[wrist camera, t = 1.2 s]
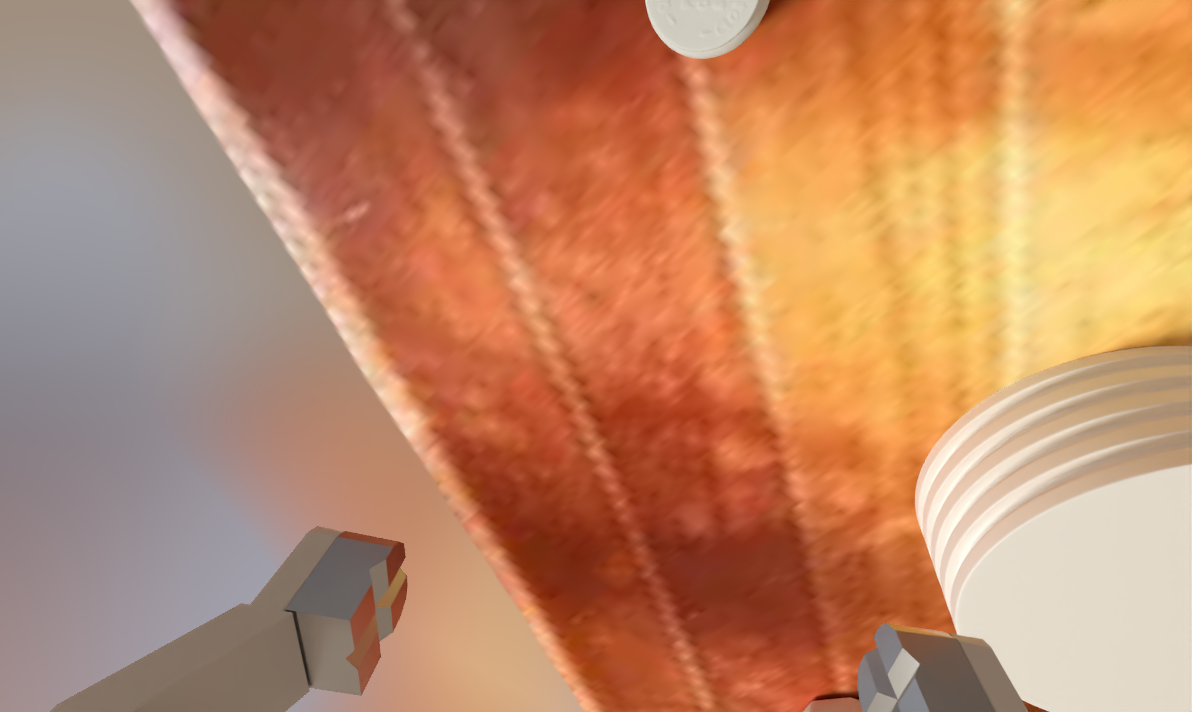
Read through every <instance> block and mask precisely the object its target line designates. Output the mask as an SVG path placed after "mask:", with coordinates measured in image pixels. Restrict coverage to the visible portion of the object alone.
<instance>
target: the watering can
mask: <svg viewBox="0 0 1192 712" xmlns="http://www.w3.org/2000/svg"><path fill="white" fill-rule="evenodd" d="M803 712H863V710H862V707H861V703H860V700H857V699H854V698H851V697H848V698H837V699H826V700H817V701H812V702H811V703H810V704H809V705H808V706H807V707H806V708H805V709H804V710H803Z"/></svg>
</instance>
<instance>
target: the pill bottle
mask: <svg viewBox="0 0 1192 712" xmlns="http://www.w3.org/2000/svg"><path fill="white" fill-rule="evenodd" d="M769 1H770V0H645V2H646V8H647V12H648V16H649V18H650V21H651V24H652V26H653V28H654V30H655V31H656V33H657V34H658V36H659V37H660V38H661V39H662V41H663V42H664V43H665V44H666V45H667V46H668V47H670V48H671V49H673V50H674V51H676V52H677V53H679V54H682V55H684V56H687V57H691V58H698V59H705V58H713V57H717V56H720V55H723V54H726V53H728V52H730V51H732V50H734V49H735V48H737V47H738V46H740V45H741V44H742V43H743V42H744V41H745V40H746V39H748V38H749V37H750V36H751V34H752V33H753V32H754V31H755V29H756V28H757V27H758V25H759V24H760V22H761V20H762V18H763V16H764V15H765V12H766V10H767V8H768V5H769Z"/></svg>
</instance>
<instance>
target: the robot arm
mask: <svg viewBox="0 0 1192 712" xmlns="http://www.w3.org/2000/svg"><path fill="white" fill-rule="evenodd" d="M404 559H405V549H404V544H403V543H401V542H398V541H392V540H388V539H383V538H377V537H372V536H367V535H362V534H357V533H352V532H347V531H341V530H335V529H330V528H324V527H319V526H317V527H316V528H314V529H312V530H311V531H310V532H308V533H307V534H306V535H305V537H304V538H303V539H302V541H301V542H300V543H299V544H298V545H297V547H296V548H295V549H294V550H293V552H292V553H291V554H290V556H289V557H288V558H287V559H286V560H285V562H284V563H283V564H282V566H281V567H280V568H279V569H278V571H277V572H276V573H275V574H274V576H273V577H272V578H271V579H270V581H269V582H268V583H267V584H266V586H265V587H264V588H263V589H262V591H261V592H260V593H259V594H258V596H257V597H256V598H255V600H254V601H253V602H252V603H251V604H250V605H249V604H242V603H241V604H239V605H238V606H236V607H234V608H232V609H230V610H229V611H227V612H225V613H223V614H221V615H219V616H218V617H216V618H214V619H212V620H210V621H209V622H207V623H205V624H203V625H201V626H199V627H198V628H196V629H194V630H192V631H190V632H188V633H187V634H185V635H183V636H181V637H179V638H178V639H176V640H174V641H172V642H170V643H168V644H167V645H165V646H163V647H161V648H160V649H158V650H156V651H154V652H152V653H150V654H148V655H147V656H145V657H143V658H141V659H140V660H138V661H136V662H134V663H132V664H130V665H128V666H127V667H125V668H123V669H121V670H119V671H118V672H116V673H114V674H112V675H110V676H108V677H107V678H105V679H103V680H101V681H99V682H97V683H96V684H94V685H92V686H90V687H88V688H87V689H85V690H83V691H81V692H79V693H77V694H76V695H74V696H72V697H70V698H68V699H67V700H65V701H63V702H61V703H59V704H57V705H56V706H55V707H54V708H53V709H52V710H51V712H285V711H286V710H288V709H289V708H290V707H291V706H292V705H294V704H295V703H296V702H297V701H298V700H300V699H301V698H302V697H303V696H304V695H306V694H307V693H308V692H309V688H315V689H321V690H328V691H334V692H341V693H348V694H354V695H362V693H363V691H364V689H365V687H366V685H367V683H368V681H369V679H370V677H371V675H372V673H373V671H374V669H375V667H376V665H377V663H378V661H379V659H380V657H381V654H380V644H379V641H381V640H382V639H384V638H385V637H387V636H388V635H389V634H391V633H392V632H393V631H394V629H395V627H396V625H397V622H398V620H399V618H400V616H401V613H402V609H403V606H404V603H405V600H406V593H407V575H406V574H405V573H404V572H403V571H402V569H401V568H400V566H401V565H402V563H403V561H404ZM874 639H875V642H876V645H877V647H878V648H876V649H874V650H872V651H870V652H868V653H866V654H865V655H864V657H863V659H862V661H861V664H860V666H859V670H858V683H857V686H858V693H859V700H860V703H861V707H862V710H863V712H1028V710H1027V708H1026V707H1025V705H1024V703H1023V702H1022V700H1021V698H1020V696H1019V695H1018V693H1017V691H1016V689H1015V688H1014V686H1013V684H1012V682H1011V681H1010V679H1009V677H1008V676H1007V674H1006V672H1005V670H1004V669H1003V667H1002V665H1001V663H1000V662H999V660H998V658H997V656H996V655H995V653H994V651H993V650H992V648H991V647H990V645H989V644H987V643H986V642H985V641H984V640H983V639H979V638H973V637H967V636H961V635H955V634H947V633H945V632H940V631H934V630H927V629H921V628H914V627H908V626H902V625H895V624H889V623H885V624H884V625H882V626H880V627H879V628H878V630H877V632H876V634H875V636H874Z"/></svg>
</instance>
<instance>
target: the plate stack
mask: <svg viewBox="0 0 1192 712" xmlns="http://www.w3.org/2000/svg"><path fill="white" fill-rule="evenodd" d="M915 508H916V514H917V518H918V522H919V525H920V528H921V531H922V533H923V536H924V538H925V542H926V545H927V548H928V551H929V554H930V556H931V559H932V561H933V565H934V568H935V571H936V574H937V577H938V580H939V582H940V585H941V587H942V590H943V594H944V597H945V600H946V603H947V606H948V608H949V611H950V613H951V616H952V619H953V623H954V626H955V629H956V632H957V635H961V636H967V637H973V638H979V639H983V640H984V641H985V642H986V643H987V644H989V645H990V647H991V648H992V650H993V651H994V653H995V655H996V656H997V658H998V660H999V662H1000V663H1001V665H1002V667H1003V669H1004V670H1005V672H1006V674H1007V676H1008V677H1009V679H1010V681H1011V682H1012V684H1013V686H1014V688H1015V689H1016V691H1017V693H1018V695H1019V696H1020V698H1021V700H1023V701H1025V702H1027V703H1030V704H1032V705H1034V706H1036V707H1039V708H1041V709H1044V710H1046V711H1049V712H1192V346H1154V347H1141V348H1133V349H1125V350H1118V351H1112V352H1107V353H1102V354H1097V355H1092V356H1088V357H1084V358H1080V359H1077V360H1073V361H1069V362H1066V363H1063V364H1060V365H1057V366H1054V367H1051V368H1048V369H1045V370H1043V371H1040V372H1038V373H1035V374H1033V375H1030V376H1028V377H1026V378H1024V379H1021V380H1019V381H1017V382H1015V383H1013V384H1011V385H1009V386H1007V387H1005V388H1004V389H1002V390H1000V391H998V392H996V393H995V394H993V395H991V396H990V397H988V398H987V399H985V400H983V401H982V402H980V403H979V404H978V405H976V406H975V407H973V408H972V409H971V410H969V411H968V412H967V413H966V414H964V415H963V416H962V417H961V418H960V419H959V420H957V421H956V422H955V423H954V424H953V425H952V426H951V427H950V428H949V429H948V430H947V431H946V432H945V433H944V435H943V436H942V437H941V438H940V439H939V441H938V442H937V443H936V444H935V446H934V447H933V449H932V450H931V452H930V453H929V455H928V457H927V458H926V460H925V462H924V464H923V466H922V469H921V471H920V474H919V477H918V481H917V485H916V492H915Z"/></svg>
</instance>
